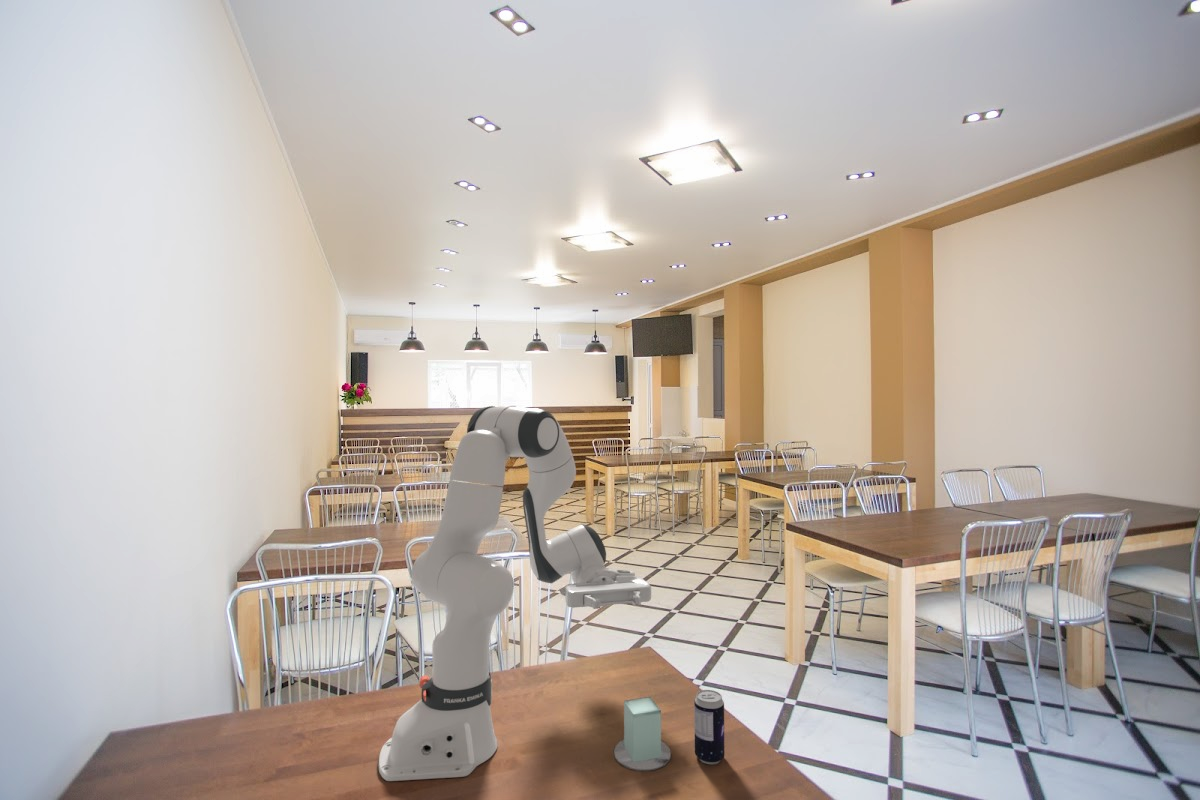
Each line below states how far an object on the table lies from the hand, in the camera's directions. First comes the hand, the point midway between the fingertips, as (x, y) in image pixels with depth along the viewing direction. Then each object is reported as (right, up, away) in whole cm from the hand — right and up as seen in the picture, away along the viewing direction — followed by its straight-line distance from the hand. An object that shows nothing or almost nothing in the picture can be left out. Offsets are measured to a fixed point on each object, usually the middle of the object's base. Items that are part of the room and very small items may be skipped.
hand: (617, 603), depth 131 cm
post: (+4, -25, -15) cm, 29 cm away
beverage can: (+17, -25, -16) cm, 34 cm away
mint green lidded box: (+4, -24, -15) cm, 28 cm away
